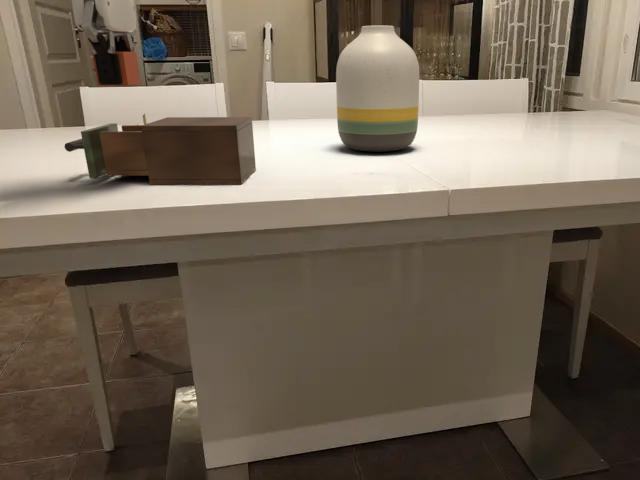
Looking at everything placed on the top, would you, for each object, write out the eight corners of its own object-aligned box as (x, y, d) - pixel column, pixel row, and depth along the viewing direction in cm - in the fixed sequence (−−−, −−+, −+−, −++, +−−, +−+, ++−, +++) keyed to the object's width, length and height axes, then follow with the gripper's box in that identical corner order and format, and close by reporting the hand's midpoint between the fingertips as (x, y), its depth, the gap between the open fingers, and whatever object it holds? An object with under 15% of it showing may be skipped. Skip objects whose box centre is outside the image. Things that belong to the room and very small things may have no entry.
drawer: (63, 178, 88) (53, 131, 86) (93, 166, 98) (85, 123, 95) (174, 178, 88) (167, 131, 85) (193, 165, 98) (188, 123, 95)
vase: (326, 154, 113) (322, 25, 105) (352, 142, 129) (350, 28, 120) (407, 157, 109) (410, 23, 100) (424, 144, 124) (428, 27, 115)
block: (97, 85, 80) (91, 52, 79) (111, 83, 84) (106, 52, 83) (128, 85, 80) (123, 51, 78) (140, 83, 84) (136, 51, 83)
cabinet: (149, 184, 88) (140, 125, 84) (173, 170, 99) (166, 117, 95) (241, 184, 88) (236, 125, 84) (255, 170, 98) (251, 117, 95)
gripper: (98, -48, 83) (119, 80, 90) (33, -71, 68) (64, 87, 75) (148, -49, 83) (165, 80, 90) (93, -72, 68) (119, 86, 74)
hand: (119, 82), depth 82 cm, fingers closed on block, 4 cm apart
